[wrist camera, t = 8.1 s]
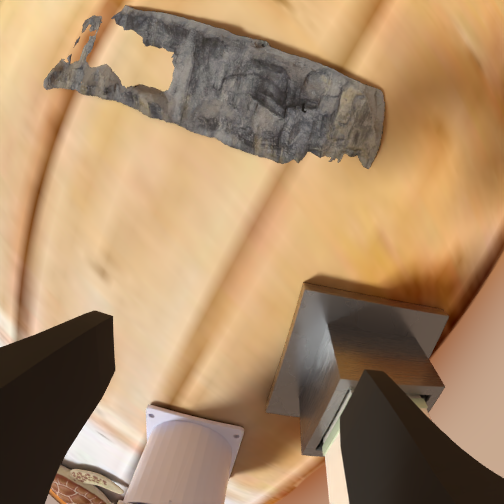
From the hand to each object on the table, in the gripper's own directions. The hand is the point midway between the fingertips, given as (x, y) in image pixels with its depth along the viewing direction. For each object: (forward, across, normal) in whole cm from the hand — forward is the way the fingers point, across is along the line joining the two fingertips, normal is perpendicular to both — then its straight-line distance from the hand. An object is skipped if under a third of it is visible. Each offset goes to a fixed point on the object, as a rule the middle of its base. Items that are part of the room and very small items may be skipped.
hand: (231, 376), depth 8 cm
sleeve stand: (+10, -8, +6) cm, 14 cm away
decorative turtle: (+11, +17, +38) cm, 43 cm away
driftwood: (+11, +5, -10) cm, 16 cm away
